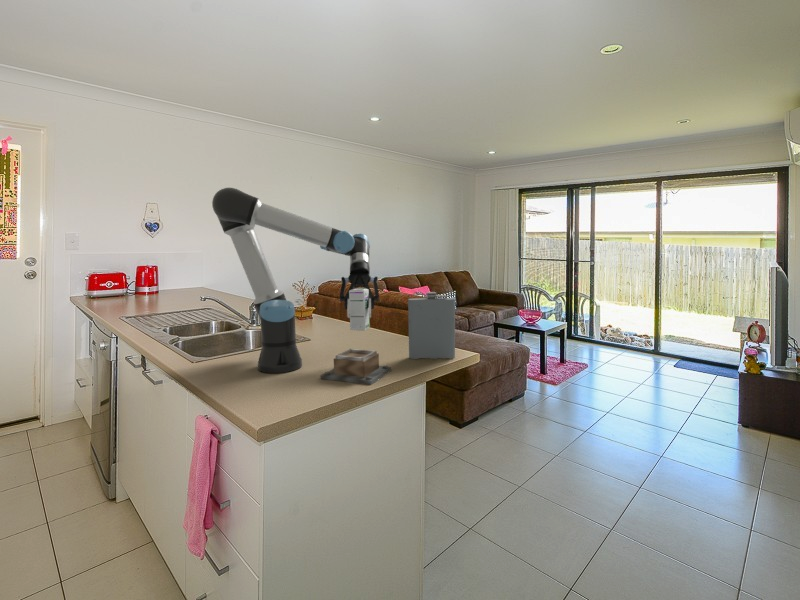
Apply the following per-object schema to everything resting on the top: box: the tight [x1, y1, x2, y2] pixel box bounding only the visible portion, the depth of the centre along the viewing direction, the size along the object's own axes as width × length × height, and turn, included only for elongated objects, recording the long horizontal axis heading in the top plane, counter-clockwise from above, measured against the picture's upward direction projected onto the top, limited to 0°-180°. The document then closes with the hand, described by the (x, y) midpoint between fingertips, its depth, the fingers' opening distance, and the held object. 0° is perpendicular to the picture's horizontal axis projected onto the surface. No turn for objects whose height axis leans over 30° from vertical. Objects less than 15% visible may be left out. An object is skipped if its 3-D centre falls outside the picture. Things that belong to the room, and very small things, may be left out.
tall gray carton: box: [407, 291, 456, 360], centre depth 161 cm, size 17×5×25 cm, turn 88°
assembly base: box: [320, 348, 392, 385], centre depth 141 cm, size 18×16×7 cm
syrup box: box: [349, 287, 371, 331], centre depth 153 cm, size 6×6×14 cm
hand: (359, 315), depth 150 cm, fingers closed on syrup box, 7 cm apart
